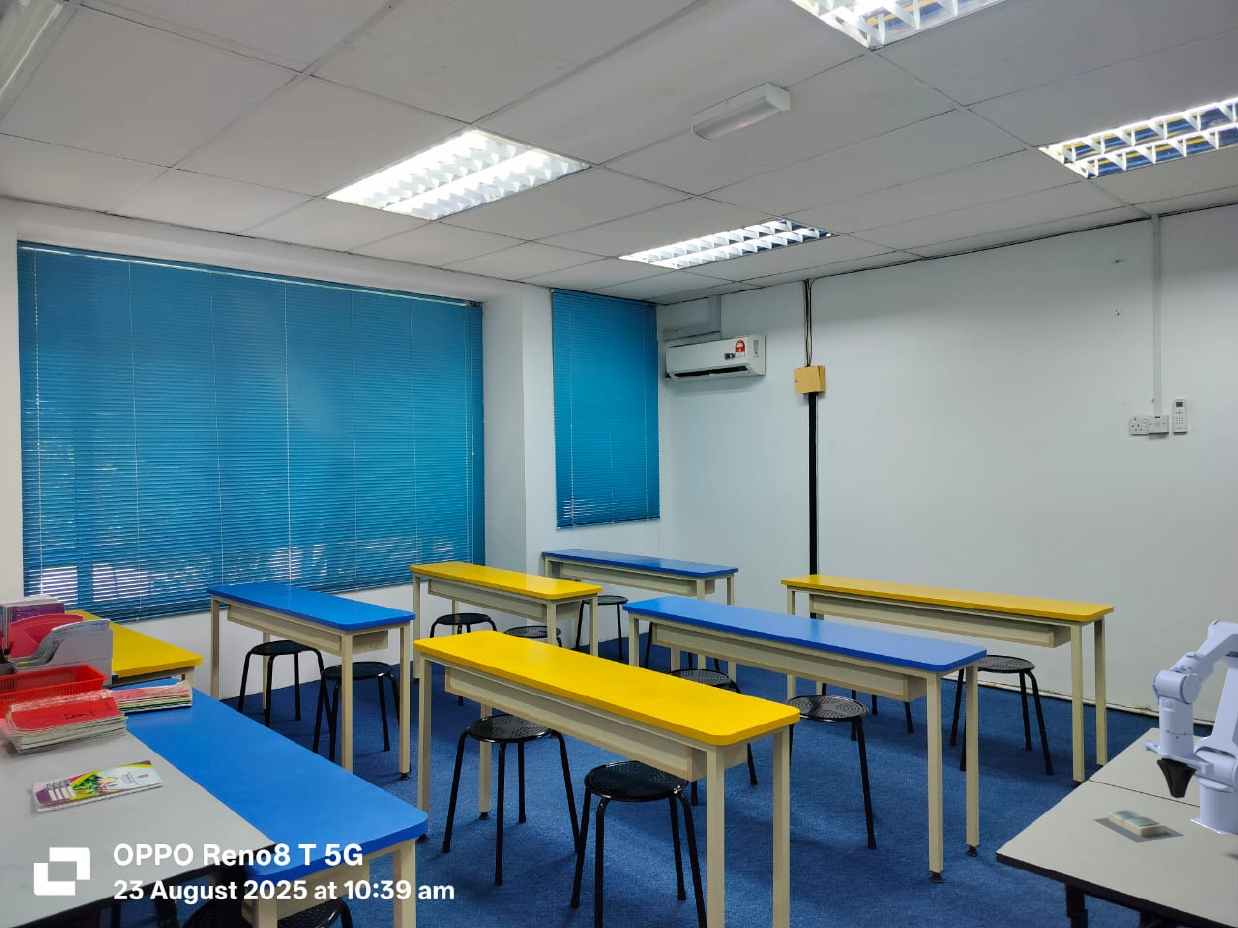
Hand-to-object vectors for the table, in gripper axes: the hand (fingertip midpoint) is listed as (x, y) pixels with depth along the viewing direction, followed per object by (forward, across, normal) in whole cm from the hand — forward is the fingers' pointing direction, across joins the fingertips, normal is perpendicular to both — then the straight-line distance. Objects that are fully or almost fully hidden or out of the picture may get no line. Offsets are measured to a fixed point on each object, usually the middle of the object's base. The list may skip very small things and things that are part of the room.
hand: (1177, 796), depth 164 cm
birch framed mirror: (+8, -3, -3) cm, 9 cm away
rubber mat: (+9, -7, -3) cm, 12 cm away
